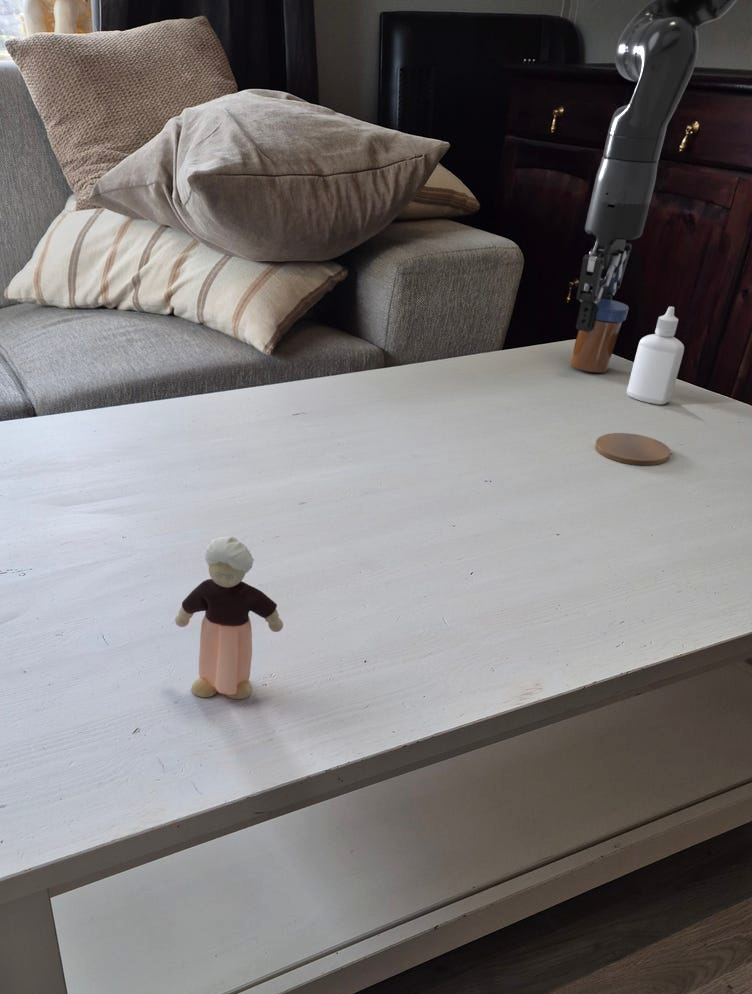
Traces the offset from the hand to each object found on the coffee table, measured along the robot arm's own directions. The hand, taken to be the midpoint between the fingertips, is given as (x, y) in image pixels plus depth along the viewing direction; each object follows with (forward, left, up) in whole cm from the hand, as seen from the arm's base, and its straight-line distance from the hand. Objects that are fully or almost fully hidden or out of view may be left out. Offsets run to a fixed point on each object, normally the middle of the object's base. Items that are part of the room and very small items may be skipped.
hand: (590, 325), depth 132 cm
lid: (-1, +1, +3) cm, 3 cm away
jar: (0, +1, -6) cm, 6 cm away
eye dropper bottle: (-2, +14, -6) cm, 16 cm away
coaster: (+9, +31, -6) cm, 32 cm away
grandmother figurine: (+63, +69, -6) cm, 93 cm away
